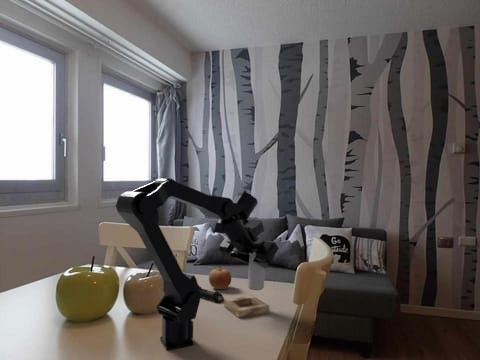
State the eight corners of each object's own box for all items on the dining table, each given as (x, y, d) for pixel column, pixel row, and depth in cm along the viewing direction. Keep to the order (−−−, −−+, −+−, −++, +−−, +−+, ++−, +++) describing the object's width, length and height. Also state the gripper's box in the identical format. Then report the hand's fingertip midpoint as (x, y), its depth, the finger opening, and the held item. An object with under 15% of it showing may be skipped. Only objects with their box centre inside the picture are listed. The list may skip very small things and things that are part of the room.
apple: (207, 285, 131) (207, 263, 131) (229, 284, 133) (229, 263, 132) (209, 292, 123) (210, 269, 123) (232, 291, 125) (233, 268, 125)
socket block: (238, 318, 101) (238, 310, 101) (223, 306, 110) (224, 299, 110) (269, 312, 106) (269, 305, 105) (252, 301, 114) (252, 295, 114)
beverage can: (251, 291, 105) (253, 250, 105) (245, 286, 109) (246, 247, 109) (266, 290, 107) (268, 249, 107) (259, 285, 111) (261, 246, 111)
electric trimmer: (190, 292, 125) (190, 283, 125) (224, 301, 115) (224, 291, 115) (182, 295, 122) (182, 285, 122) (217, 304, 112) (217, 294, 112)
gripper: (275, 213, 99) (296, 249, 107) (227, 208, 111) (249, 241, 119) (256, 244, 93) (280, 280, 101) (207, 236, 105) (232, 268, 113)
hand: (259, 265), depth 109 cm, fingers closed on beverage can, 5 cm apart
